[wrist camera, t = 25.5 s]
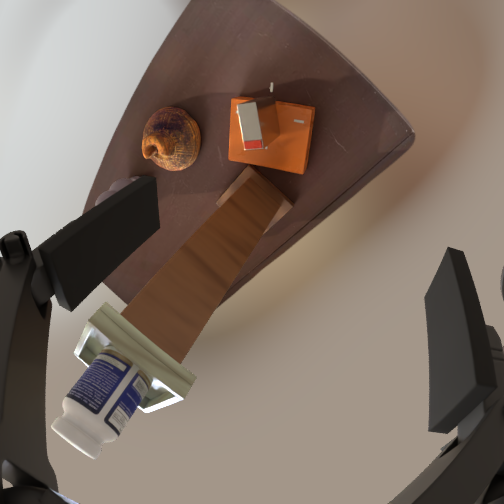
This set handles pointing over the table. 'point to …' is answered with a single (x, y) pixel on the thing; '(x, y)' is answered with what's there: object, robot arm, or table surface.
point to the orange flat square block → (282, 148)
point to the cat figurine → (115, 188)
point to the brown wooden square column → (186, 291)
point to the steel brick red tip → (258, 122)
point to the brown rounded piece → (171, 139)
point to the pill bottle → (102, 402)
